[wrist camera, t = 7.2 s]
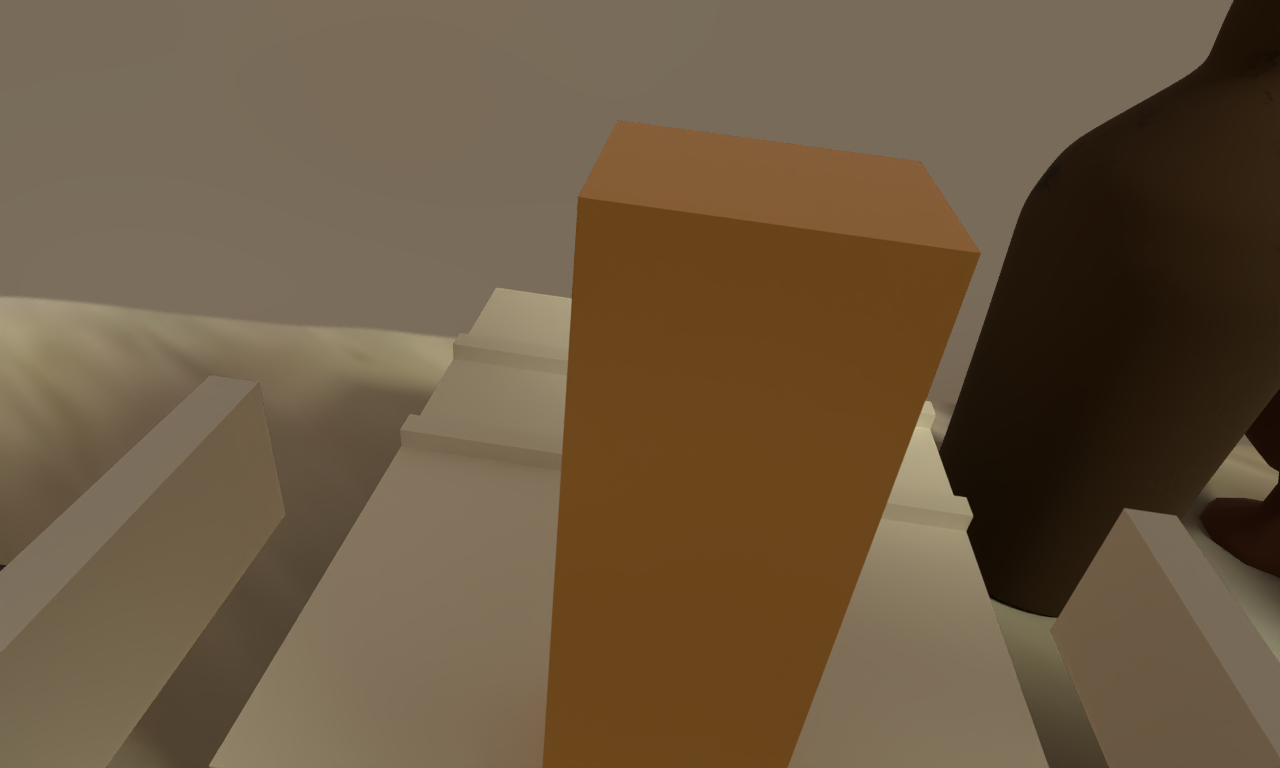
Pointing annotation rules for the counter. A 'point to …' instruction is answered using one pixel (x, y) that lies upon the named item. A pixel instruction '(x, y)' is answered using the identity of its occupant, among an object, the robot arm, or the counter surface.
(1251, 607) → the counter surface
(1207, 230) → the olive oil
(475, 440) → the lid
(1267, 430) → the ice cream bowl
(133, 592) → the robot arm
